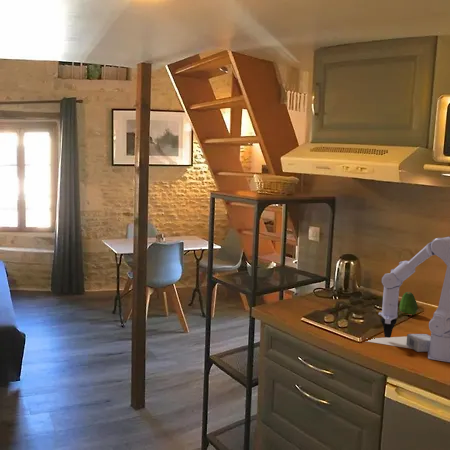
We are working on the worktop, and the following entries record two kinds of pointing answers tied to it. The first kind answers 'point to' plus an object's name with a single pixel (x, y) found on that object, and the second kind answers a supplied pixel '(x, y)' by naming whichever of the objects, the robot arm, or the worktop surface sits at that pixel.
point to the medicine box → (419, 342)
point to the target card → (392, 341)
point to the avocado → (408, 303)
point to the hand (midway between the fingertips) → (387, 336)
